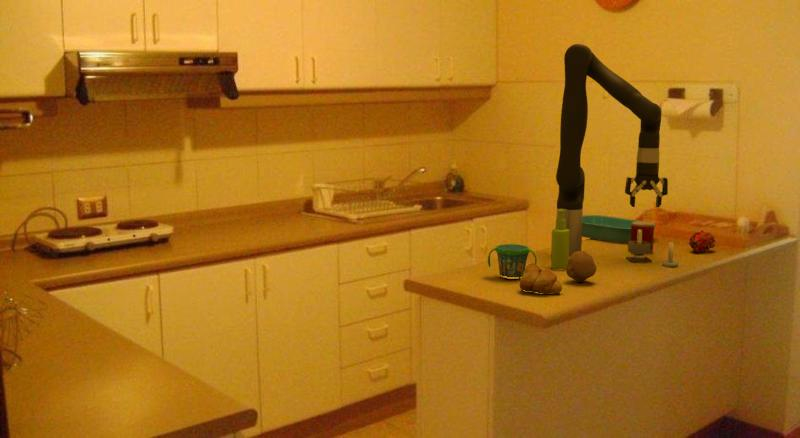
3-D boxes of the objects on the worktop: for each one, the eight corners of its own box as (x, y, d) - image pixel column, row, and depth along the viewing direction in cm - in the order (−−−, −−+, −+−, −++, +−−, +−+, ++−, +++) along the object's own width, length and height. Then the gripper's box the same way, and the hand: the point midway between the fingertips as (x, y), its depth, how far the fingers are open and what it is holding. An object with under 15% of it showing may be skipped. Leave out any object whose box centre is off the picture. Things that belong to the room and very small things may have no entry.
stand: (631, 263, 295) (633, 231, 293) (625, 258, 301) (626, 228, 300) (651, 262, 295) (653, 231, 293) (645, 258, 302) (646, 228, 300)
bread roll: (567, 292, 254) (567, 266, 252) (551, 299, 246) (552, 272, 245) (529, 286, 262) (530, 261, 260) (513, 292, 254) (513, 266, 253)
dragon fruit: (712, 254, 317) (694, 263, 310) (695, 238, 321) (677, 247, 314) (724, 238, 312) (706, 247, 305) (707, 222, 316) (689, 231, 309)
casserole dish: (666, 240, 338) (667, 222, 337) (634, 247, 324) (634, 229, 323) (590, 229, 366) (590, 212, 365) (557, 235, 351) (557, 218, 350)
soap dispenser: (571, 266, 290) (572, 208, 287) (566, 270, 284) (567, 211, 280) (554, 264, 292) (555, 207, 289) (549, 268, 286) (550, 210, 283)
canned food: (653, 254, 309) (654, 225, 307) (630, 254, 310) (632, 224, 309) (651, 250, 316) (653, 221, 314) (629, 250, 318) (630, 221, 316)
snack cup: (538, 275, 276) (539, 245, 274) (533, 282, 266) (534, 251, 264) (491, 272, 281) (491, 242, 279) (484, 279, 271) (485, 248, 269)
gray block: (633, 254, 295) (633, 244, 294) (627, 250, 301) (628, 241, 300) (650, 254, 295) (650, 244, 294) (644, 250, 301) (644, 241, 300)
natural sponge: (601, 282, 266) (602, 251, 265) (585, 287, 260) (586, 255, 258) (577, 277, 273) (578, 247, 271) (561, 282, 266) (561, 251, 265)
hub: (665, 267, 287) (666, 244, 286) (660, 264, 292) (661, 241, 291) (680, 267, 287) (681, 244, 286) (674, 264, 292) (676, 241, 291)
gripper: (629, 161, 291) (627, 208, 294) (671, 162, 291) (668, 208, 293) (624, 159, 298) (622, 205, 301) (665, 160, 298) (663, 205, 301)
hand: (645, 206), depth 297 cm, fingers open, 8 cm apart
